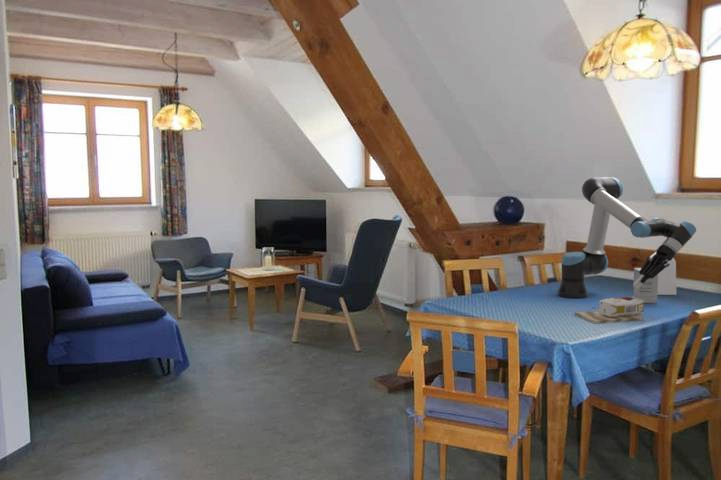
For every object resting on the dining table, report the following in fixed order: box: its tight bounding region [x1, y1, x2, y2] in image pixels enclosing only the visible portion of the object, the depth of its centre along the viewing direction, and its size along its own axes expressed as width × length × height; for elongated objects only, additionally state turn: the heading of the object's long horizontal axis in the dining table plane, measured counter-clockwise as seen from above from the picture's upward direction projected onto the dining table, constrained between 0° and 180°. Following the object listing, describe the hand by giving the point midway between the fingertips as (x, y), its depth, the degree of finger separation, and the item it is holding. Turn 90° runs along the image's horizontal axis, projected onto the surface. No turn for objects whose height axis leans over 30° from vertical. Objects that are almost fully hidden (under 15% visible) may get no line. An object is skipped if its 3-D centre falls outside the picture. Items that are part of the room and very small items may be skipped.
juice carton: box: [598, 296, 645, 317], centre depth 255 cm, size 8×9×19 cm
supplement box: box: [632, 267, 658, 304], centre depth 286 cm, size 10×9×17 cm
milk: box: [649, 244, 677, 296], centre depth 306 cm, size 12×12×26 cm
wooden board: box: [574, 310, 645, 324], centre depth 255 cm, size 24×16×1 cm, turn 100°
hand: (635, 287), depth 256 cm, fingers closed
